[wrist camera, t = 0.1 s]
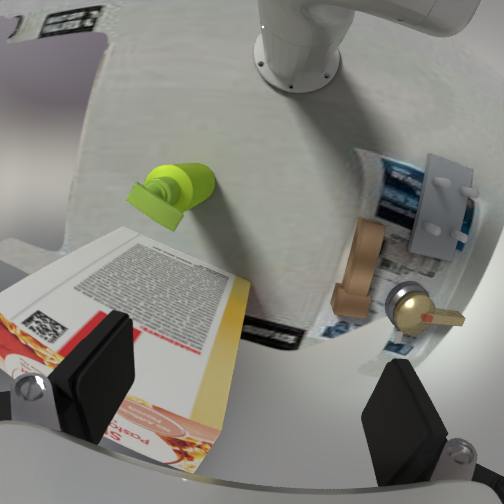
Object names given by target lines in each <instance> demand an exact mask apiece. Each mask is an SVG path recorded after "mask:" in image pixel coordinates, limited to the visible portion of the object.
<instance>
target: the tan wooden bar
mask: <svg viewBox="0 0 504 504" xmlns="http://www.w3.org/2000/svg"><path fill="white" fill-rule="evenodd" d="M385 229H386V226H384V225H383V224H381V223H380V222H378V221H375V220H370V219H366V218H361V217H359V218H358V222H357V226H356V231H355V235H354V239H353V243H352V247H351V251H350V255H349V259H348V263H347V267H346V270H345V274H344V278H343V281H342V284H339V283H336V284H335V288H334V292H333V295H332V299H331V302H330V304H331V306H332V309H333V312H334V314H335V315H342V316H349V317H357V318H364V319H365V318H366V315H367V312H368V309H369V306H370V303H371V300H372V297H371V295H370V294H369V292H368V290H369V287H370V284H371V280H372V277H373V274H374V270H375V267H376V263H377V260H378V256H379V252H380V249H381V245H382V241H383V237H384V233H385Z"/></svg>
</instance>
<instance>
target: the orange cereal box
mask: <svg viewBox="0 0 504 504" xmlns="http://www.w3.org/2000/svg"><path fill="white" fill-rule="evenodd" d="M250 285H251V282H250V281H248V280H245V279H243V278H240V277H238V276H236V275H233V274H231V273H229V272H226V271H224V270H221V269H219V268H217V267H214V266H212V265H210V264H207V263H205V262H203V261H200V260H198V259H196V258H193V257H191V256H189V255H187V254H184V253H182V252H180V251H177V250H175V249H173V248H171V247H168V246H166V245H164V244H161V243H159V242H157V241H155V240H152V239H150V238H148V237H146V236H143V235H141V234H139V233H137V232H135V231H132V230H130V229H128V228H126V227H123V226H122V227H120V228H118V229H116V230H114V231H112V232H110V233H108V234H106V235H104V236H102V237H100V238H98V239H96V240H94V241H92V242H90V243H88V244H86V245H84V246H82V247H80V248H78V249H76V250H75V251H73V252H71V253H69V254H67V255H65V256H63V257H61V258H60V259H58V260H56V261H54V262H52V263H50V264H49V265H47V266H45V267H43V268H42V269H40V270H38V271H36V272H34V273H33V274H31V275H29V276H27V277H26V278H24V279H22V280H21V281H19V282H17V283H16V284H14V285H12V286H11V287H9V288H7V289H6V290H4V291H3V292H1V293H0V368H1V369H2V370H4V371H5V372H6V373H7V374H9V375H10V376H11V377H12V378H14V379H16V378H17V377H18V376H20V375H22V374H25V373H39V374H42V375H44V376H45V377H48V375H49V374H50V373H51V372H52V371H53V370H54V369H55V368H56V367H57V366H58V365H59V363H60V362H61V361H62V360H63V359H64V358H65V357H66V356H67V355H68V354H69V353H70V352H71V351H72V350H73V349H74V348H75V346H76V345H77V344H78V343H79V342H80V341H81V340H82V339H84V338H85V337H86V336H87V335H88V334H89V333H90V332H91V331H92V330H93V329H94V328H95V327H96V326H97V325H98V324H99V323H100V322H101V321H102V320H103V319H104V318H105V317H106V316H107V315H108V314H109V313H110V312H111V311H112V310H117V311H120V312H124V313H127V314H128V315H129V318H131V319H132V320H133V340H134V362H135V380H134V383H133V385H132V387H131V388H130V390H129V392H128V393H127V395H126V397H125V399H124V400H123V402H122V404H121V405H120V407H119V409H118V411H117V412H116V414H115V416H114V418H113V419H112V421H111V423H110V425H109V426H108V428H107V430H106V432H105V433H104V435H103V436H105V437H107V438H109V439H111V440H113V441H115V442H117V443H119V444H121V445H123V446H125V447H128V448H130V449H132V450H134V451H136V452H139V453H141V454H143V455H146V456H148V457H150V458H153V459H155V460H158V461H160V462H163V463H165V464H168V465H171V466H173V467H176V468H179V469H182V470H185V471H187V472H190V473H194V472H195V470H196V469H197V467H198V466H199V465H200V463H201V462H202V460H203V459H204V457H205V456H206V454H207V453H208V451H209V449H210V448H211V447H212V445H213V443H214V442H215V440H216V439H217V437H218V436H219V434H220V433H221V431H222V426H223V421H224V416H225V411H226V406H227V401H228V396H229V391H230V385H231V381H232V376H233V371H234V366H235V361H236V356H237V351H238V346H239V341H240V336H241V331H242V326H243V320H244V315H245V310H246V305H247V300H248V295H249V290H250Z"/></svg>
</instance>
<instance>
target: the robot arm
mask: <svg viewBox="0 0 504 504" xmlns="http://www.w3.org/2000/svg"><path fill="white" fill-rule="evenodd" d="M257 1H258V8H259V17H260V25H261V33H260V34H259V35H258V37H257V39H256V41H255V44H254V48H253V58H254V62H255V66H256V68H257V70H258V72H259V73H260V75H261V76H262V77H263V79H265V80H266V81H267V82H268V83H269V84H271V85H272V86H274V87H276V88H278V89H280V90H283V91H286V92H290V93H309V92H312V91H316V90H318V89H320V88H322V87H324V86H325V85H326V84H327V83H329V82H330V80H331V79H332V78H333V77H334V75H335V74H336V72H337V69H338V67H339V60H340V57H339V50H338V47H339V45H340V43H341V42H342V40H343V38H344V36H345V35H346V33H347V31H348V30H349V28H350V26H351V24H352V22H353V19H354V13H355V11H360V12H364V13H367V14H370V15H374V16H377V17H380V18H383V19H386V20H389V21H392V22H395V23H397V24H400V25H403V26H406V27H408V28H411V29H414V30H416V31H419V32H422V33H425V34H428V35H431V36H435V37H451V36H453V35H456V34H458V33H459V32H461V31H462V30H463V29H464V28H465V27H466V26H467V24H468V23H469V22H470V20H471V19H472V17H473V16H474V14H475V12H476V10H477V8H478V5H479V3H480V1H481V0H257ZM260 65H263V66H262V67H260ZM325 76H327V77H328V78H327V79H326V78H325ZM290 86H292V87H293V88H292V89H290V88H289V87H290ZM134 380H135V362H134V340H133V320H132V319H131V318H129V315H128V314H127V313H124V312H120V311H117V310H112V311H111V312H110V313H109V314H108V315H107V316H106V317H105V318H104V319H103V320H102V321H101V322H100V323H99V324H98V325H97V326H96V327H95V328H94V329H93V330H92V331H91V332H90V333H89V334H88V335H87V336H86V337H85V338H84V339H82V340H81V341H80V342H79V343H78V344H77V345H76V346H75V348H74V349H73V350H72V351H71V352H70V353H69V354H68V355H67V356H66V357H65V358H64V359H63V360H62V361H61V362H60V363H59V365H58V366H57V367H56V368H55V369H54V370H53V371H52V372H51V373H50V374H49V375H48V377H45V376H44V375H42V374H39V373H25V374H22V375H20V376H18V377H17V378H16V379H14V381H13V382H12V384H11V390H10V391H6V392H0V504H504V477H503V476H501V475H499V474H497V473H495V472H493V471H491V470H489V469H487V468H485V467H483V466H481V465H479V464H477V463H476V461H477V452H476V450H475V448H474V447H473V445H472V444H470V443H469V442H468V441H466V440H464V439H461V438H454V439H450V440H449V441H447V439H446V436H447V435H448V432H447V430H446V428H445V426H444V424H443V422H442V420H441V418H440V416H439V414H438V412H437V411H436V409H435V407H434V405H433V403H432V401H431V399H430V397H429V396H428V394H427V392H426V390H425V388H424V387H423V385H422V383H421V381H420V380H419V378H418V376H417V374H416V372H415V370H414V369H413V367H412V365H411V363H410V362H409V360H407V359H396V358H394V359H392V360H391V362H388V363H387V364H386V366H385V368H384V370H383V373H382V375H381V377H380V379H379V381H378V383H377V385H376V387H375V389H374V391H373V393H372V395H371V397H370V399H369V401H368V403H367V405H366V407H365V408H364V410H363V412H362V416H361V420H362V424H363V428H364V432H365V436H366V439H367V443H368V447H369V451H370V455H371V459H372V463H373V467H374V471H375V475H376V480H377V484H378V486H379V487H372V488H354V489H303V488H285V487H272V486H262V485H253V484H245V483H238V482H232V481H225V480H220V479H214V478H208V477H204V476H199V475H194V474H189V473H185V472H181V471H177V470H173V469H169V468H165V467H162V466H158V465H155V464H151V463H148V462H144V461H141V460H138V459H135V458H132V457H129V456H126V455H122V454H120V453H117V452H114V451H111V450H108V449H106V448H103V447H100V446H98V444H99V442H100V440H101V439H102V437H103V435H104V433H105V432H106V430H107V428H108V426H109V425H110V423H111V421H112V419H113V418H114V416H115V414H116V412H117V411H118V409H119V407H120V405H121V404H122V402H123V400H124V399H125V397H126V395H127V393H128V392H129V390H130V388H131V387H132V385H133V383H134Z"/></svg>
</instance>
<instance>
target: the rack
mask: <svg viewBox="0 0 504 504" xmlns="http://www.w3.org/2000/svg"><path fill="white" fill-rule="evenodd" d="M472 174H473V170H472V169H470V168H467V167H465V166H462V165H460V164H457V163H455V162H452V161H450V160H447V159H444V158H442V157H439V156H436V155H433V154H428V157H427V163H426V169H425V174H424V180H423V185H422V190H421V194H420V199H419V204H418V208H417V213H416V217H415V221H414V225H413V229H412V233H411V237H410V241H409V244H408V248H407V251H409V252H411V253H415V254H420V255H424V256H429V257H433V258H438V259H442V260H447V261H451V262H452V259H453V256H454V252H455V249H456V245H457V242H458V240H459V241H461V242H463V243H466V242H467V241H468V235H466V234H464V233H462V232H460V231H461V227H462V223H463V219H464V214H465V210H466V205H467V201H468V196H469V197H472V198H477V197H478V195H479V192H478V190H477V189H473V188H470V186H471V180H472Z"/></svg>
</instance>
